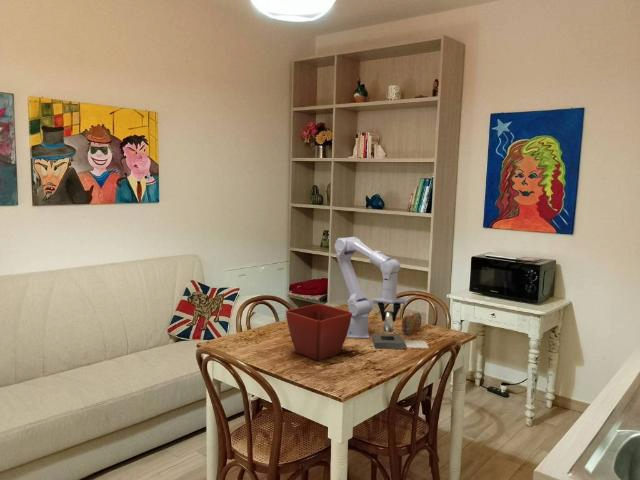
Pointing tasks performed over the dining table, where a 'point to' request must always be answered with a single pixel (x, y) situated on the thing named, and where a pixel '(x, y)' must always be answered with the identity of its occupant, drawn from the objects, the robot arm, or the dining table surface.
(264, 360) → the dining table surface
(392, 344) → the housing
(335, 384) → the dining table surface
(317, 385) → the dining table surface
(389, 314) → the silver metal cylinder
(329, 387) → the dining table surface
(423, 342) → the mat
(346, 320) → the plant pot
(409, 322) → the tin
